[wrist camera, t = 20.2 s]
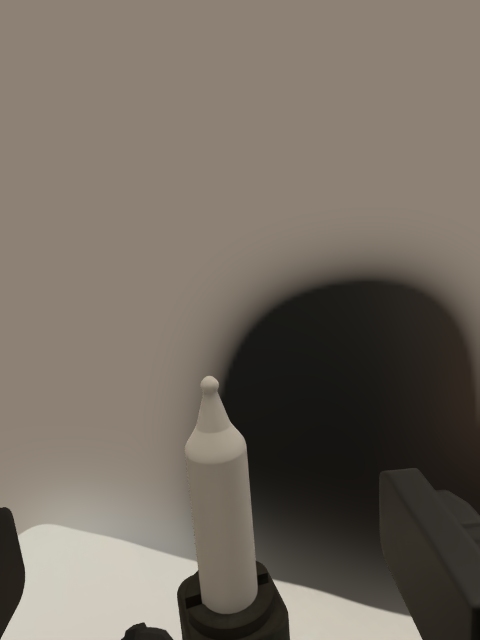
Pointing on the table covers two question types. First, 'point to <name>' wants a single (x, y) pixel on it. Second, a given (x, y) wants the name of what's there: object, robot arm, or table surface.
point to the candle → (225, 538)
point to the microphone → (146, 633)
